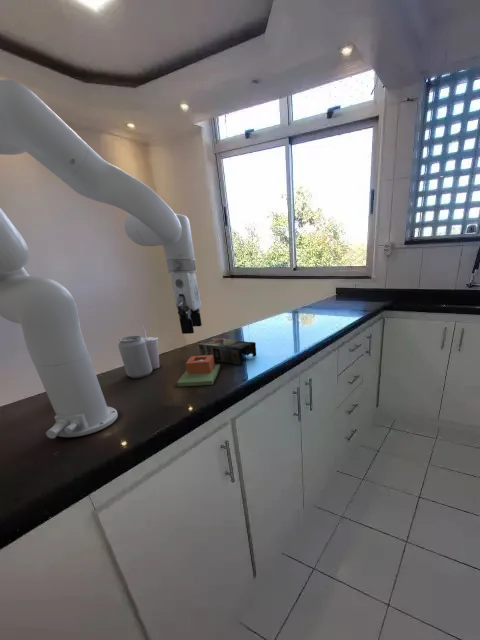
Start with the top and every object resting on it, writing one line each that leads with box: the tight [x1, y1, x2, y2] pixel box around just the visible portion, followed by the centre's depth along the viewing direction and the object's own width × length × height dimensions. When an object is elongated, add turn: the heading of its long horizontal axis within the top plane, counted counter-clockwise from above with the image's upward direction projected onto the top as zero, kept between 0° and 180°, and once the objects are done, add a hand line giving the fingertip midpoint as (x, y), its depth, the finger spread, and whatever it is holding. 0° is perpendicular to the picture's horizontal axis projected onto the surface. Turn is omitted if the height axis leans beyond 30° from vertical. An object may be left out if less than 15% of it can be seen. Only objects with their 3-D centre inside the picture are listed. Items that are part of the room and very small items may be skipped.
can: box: [117, 335, 153, 379], centre depth 96 cm, size 8×8×12 cm
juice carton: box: [197, 337, 257, 366], centre depth 110 cm, size 20×10×6 cm, turn 62°
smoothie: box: [141, 325, 160, 370], centre depth 102 cm, size 6×6×14 cm
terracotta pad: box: [185, 355, 216, 374], centre depth 97 cm, size 7×7×4 cm
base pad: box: [176, 359, 221, 387], centre depth 95 cm, size 14×10×4 cm
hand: (192, 329), depth 92 cm, fingers open, 9 cm apart
